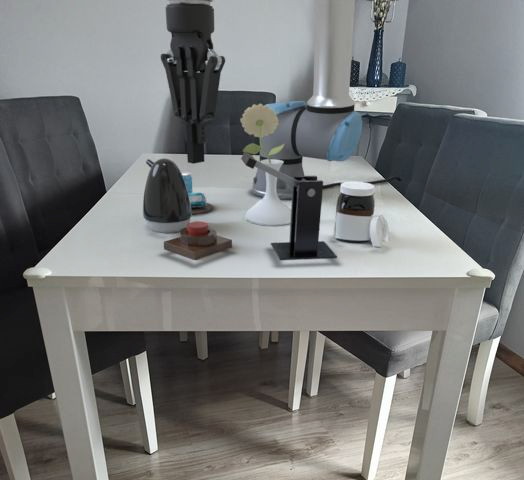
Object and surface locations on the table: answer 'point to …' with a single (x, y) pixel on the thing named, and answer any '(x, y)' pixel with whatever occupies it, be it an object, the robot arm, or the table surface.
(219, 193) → the table surface
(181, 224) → the pump dispenser
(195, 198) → the teal cans on tray
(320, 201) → the lever bracket
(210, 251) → the switch box
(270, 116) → the flower in vase
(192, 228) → the red push button
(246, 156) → the pivoting lever
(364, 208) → the spread jar
